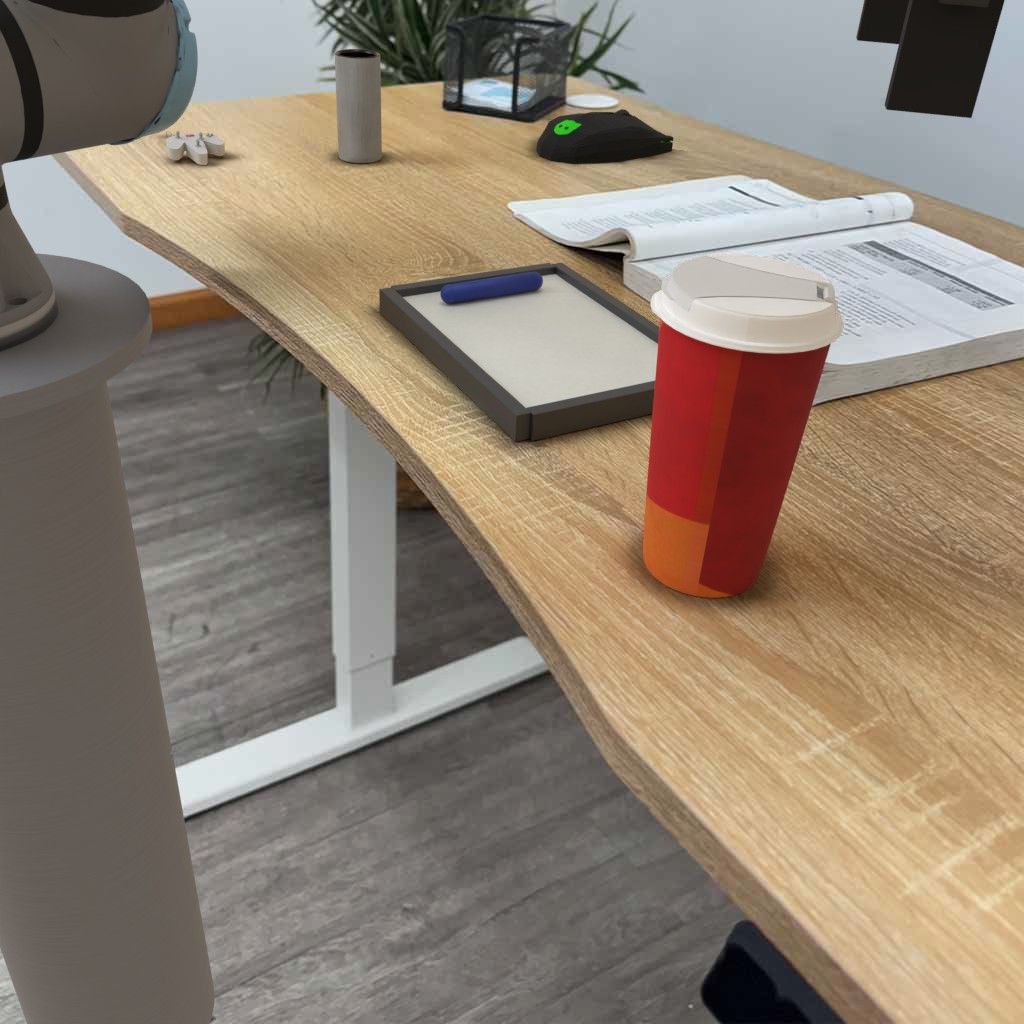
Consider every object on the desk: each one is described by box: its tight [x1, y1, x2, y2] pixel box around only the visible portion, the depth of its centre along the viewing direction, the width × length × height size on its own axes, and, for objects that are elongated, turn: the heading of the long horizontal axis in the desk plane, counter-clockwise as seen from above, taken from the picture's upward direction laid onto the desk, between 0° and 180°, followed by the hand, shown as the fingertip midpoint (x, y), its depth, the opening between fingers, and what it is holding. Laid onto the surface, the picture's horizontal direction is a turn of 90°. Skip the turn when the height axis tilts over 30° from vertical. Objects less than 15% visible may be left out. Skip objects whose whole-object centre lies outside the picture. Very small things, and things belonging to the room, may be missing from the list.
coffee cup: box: [642, 253, 845, 599], centre depth 50 cm, size 8×8×15 cm
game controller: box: [165, 130, 226, 166], centre depth 109 cm, size 6×12×3 cm, turn 50°
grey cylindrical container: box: [334, 48, 383, 164], centre depth 109 cm, size 4×4×10 cm
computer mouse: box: [535, 108, 675, 165], centre depth 119 cm, size 11×16×4 cm
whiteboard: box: [378, 262, 660, 443], centre depth 73 cm, size 22×16×3 cm
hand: (904, 73), depth 41 cm, fingers open, 13 cm apart
